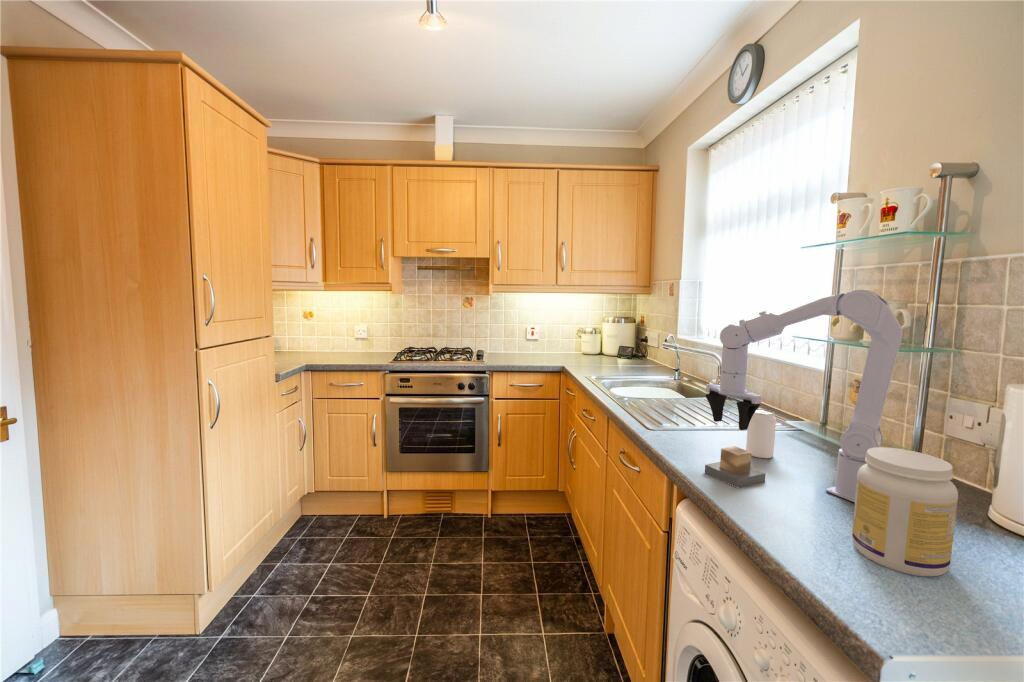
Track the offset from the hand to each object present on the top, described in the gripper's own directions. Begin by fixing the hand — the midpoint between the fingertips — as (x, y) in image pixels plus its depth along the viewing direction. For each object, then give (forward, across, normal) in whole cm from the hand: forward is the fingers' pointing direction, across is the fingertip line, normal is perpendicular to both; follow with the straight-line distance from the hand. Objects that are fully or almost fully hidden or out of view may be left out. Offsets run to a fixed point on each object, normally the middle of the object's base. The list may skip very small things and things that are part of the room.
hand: (730, 425), depth 111 cm
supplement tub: (+10, +40, -8) cm, 42 cm away
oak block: (+8, +7, -6) cm, 12 cm away
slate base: (+10, +7, -6) cm, 14 cm away
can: (+10, -1, +13) cm, 16 cm away
